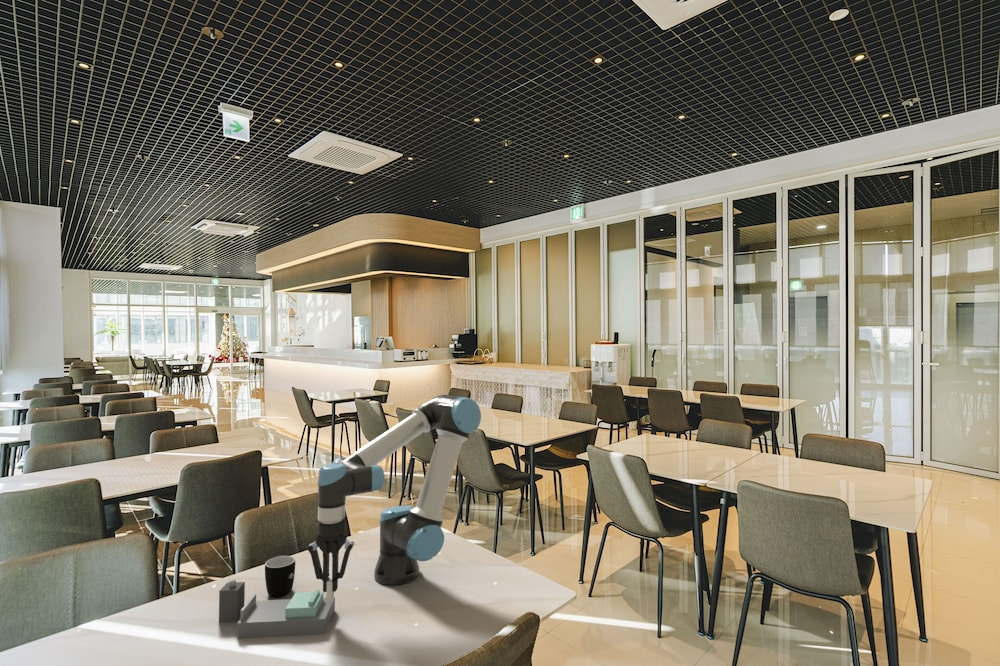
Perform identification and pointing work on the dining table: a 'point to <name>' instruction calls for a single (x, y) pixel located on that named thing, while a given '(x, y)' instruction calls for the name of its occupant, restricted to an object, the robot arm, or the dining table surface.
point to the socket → (280, 619)
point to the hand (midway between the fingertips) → (330, 602)
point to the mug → (279, 576)
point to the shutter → (304, 604)
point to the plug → (231, 601)
